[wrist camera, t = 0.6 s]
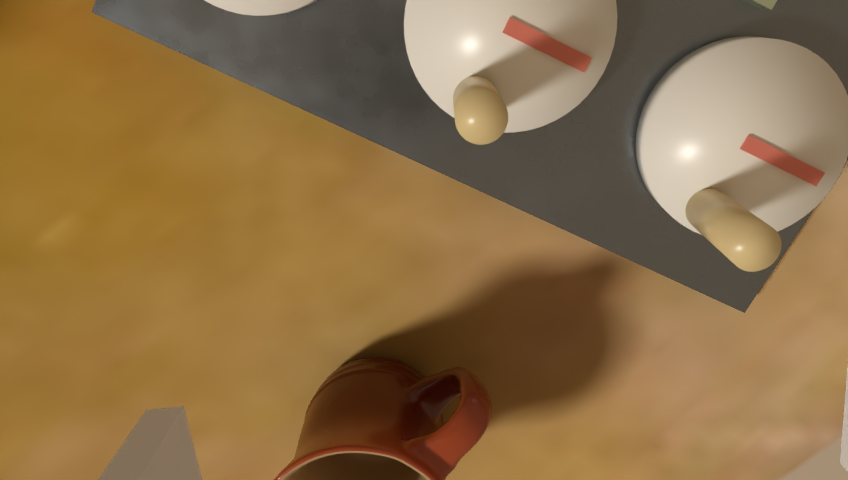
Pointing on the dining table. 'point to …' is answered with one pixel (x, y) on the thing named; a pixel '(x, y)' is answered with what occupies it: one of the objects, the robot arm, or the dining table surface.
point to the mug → (388, 423)
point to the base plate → (514, 151)
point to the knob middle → (508, 59)
